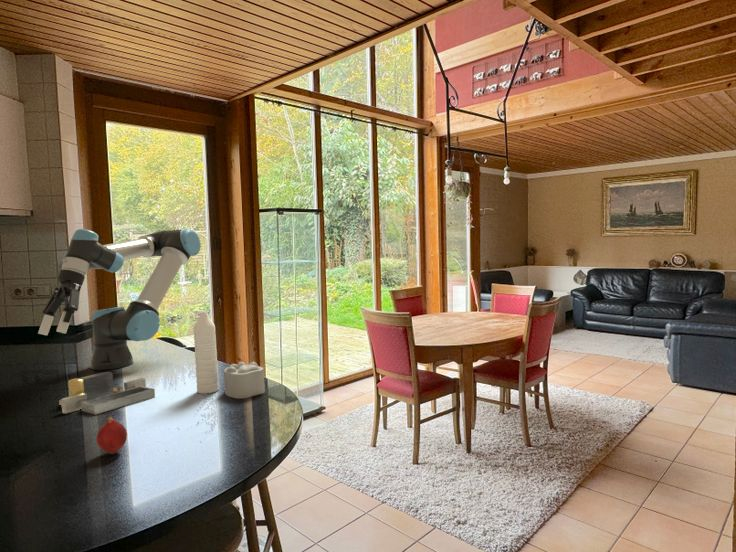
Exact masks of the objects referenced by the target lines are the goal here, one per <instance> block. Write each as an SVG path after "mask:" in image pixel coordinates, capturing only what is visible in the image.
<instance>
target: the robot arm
mask: <svg viewBox="0 0 736 552" xmlns="http://www.w3.org/2000/svg"><path fill="white" fill-rule="evenodd" d="M99 238H100V237H99V234H97V233H96V232H95V231H92V230H89V229H87V228H79V229H76V230H75V231H74V233H73V235H72V238H71V239H70V243H69V246H68V247H67V248H68V249H67V251H65V253H64V254H63V255H62V265H61V270H60V271H59V273H58V275H57V279H56V280H57V282H58V283H60V286H59V287H58V286H55V287H54V290H53V293H52V294H51V297H50V298H49V299H48V301H47V304H46V305H45V306H44V309H43V310H42V314H44V316H43V318H42V320H41V324H40V326H39V330H38V332H37V334H38V335H43V336H49V335H48V334H49V333H50V329H51V326H52V324H53V321H54V318H56V312H57V311H58V309H59V308H60V307H61V305H62V304H63V303H64V308H63V309H62V314H61V316H60V319H59V322H58V325H57V327H56V332H57V333H60V334H67V331H68V329H69V326H70V323H71V320H72V317H73V314H74V313H75V312H78V310H79V306H80V295H81V289H82V286H83V284H84V282H85V278H86V277H85V276H86V275H87V274H88V271H89V270H104V271H106V272H109V273H113V274H114V273H117V272H118V271H120V270H121V269H122V267H123V265H124V263H125V261H127V260H130V259H131V260H132V259H137V258H140V257H142V258H143V257H144V258H146V259H147V258H151V257H160V259H159V261H158V262H157V264H156V266H155V268H154V270H153V271H152V273H151V274H150V277H149V278H148V280H147V282H146V283H145V285H144V286H143V288H142V290H141V292H140V294H139V295H138V297H137V299H136V300H133V301H130V303H129V305H128V306H127V308H125V307H124V306H117V307H109V308H103V309H97V310H94V311H93V312H92V314H91V325H92V338H93V352H92V355H91V359H90V362H89V367H90V369H91V370H93V371H97V370H98V371H101V370H102V371H104V370H105V371H106V370H114V369H120V368H124V367H128V366H131V365H132V364H134V360H133V359H134V358H133V355H132V353H131V351H130V349H129V345H128V342H127V341H129V342H130V341H132V342H141V341H148V340H151V339H152V338H154V337H155V336H156V334H157V333H158V331H159V329H160V317H159V316H160V313H159V308H160V306H161V304H162V302H163V300H164V298H165V297H166V295H167V293H168V290H169V289H170V287H171V285H172V283H173V282H174V280H175V278H176V276H177V274H178V272H179V270H180V269H181V267H182V266H184V265H186V264H187V263H188V261H189V260H190V258H191V257H195V256H197V255H198V254H199V253H200V251H201V245H202V244H201V240H200V237H199V235H198V234H197V232H196V231H194V230H193V229H190V228H182V229H169V230H161V231H157V232H153V233H152V232H151V233H149V234H145V235H141V236H139V237H138V238H136V239H131V240H125V241H119V242H113V243H108V244H101V243H99Z"/></svg>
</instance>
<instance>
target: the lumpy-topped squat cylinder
mask: <svg viewBox="0 0 736 552" xmlns="http://www.w3.org/2000/svg"><path fill="white" fill-rule="evenodd" d="M223 370H224V371H223V377H224V378H223V379H224V393H225V395H226V396H227V397H230V398H232V399H239V400H240V399H247V398H250V397H255V396H258V395H262V394H264V393H265V392H266V390H265V389H266V388H265V387H266V386H265V371H264V370H265V369H264V367H261V366H259V365H258V363H257V362H255V361H251V362H249V363H248V364H246V362H244V361H239V362H238V363H236V364H235V363H231V364H230V366H227V367H226V368H224V369H223Z"/></svg>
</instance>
